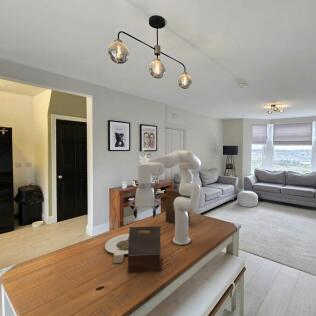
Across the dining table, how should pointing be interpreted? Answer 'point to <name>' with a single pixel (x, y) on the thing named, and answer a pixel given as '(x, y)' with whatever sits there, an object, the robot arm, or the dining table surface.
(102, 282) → the dining table surface
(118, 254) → the block
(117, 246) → the plated food
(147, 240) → the lid
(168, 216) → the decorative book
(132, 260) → the chest
